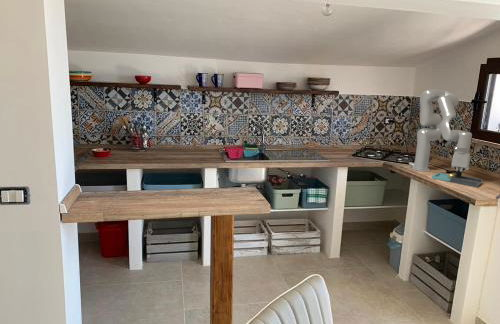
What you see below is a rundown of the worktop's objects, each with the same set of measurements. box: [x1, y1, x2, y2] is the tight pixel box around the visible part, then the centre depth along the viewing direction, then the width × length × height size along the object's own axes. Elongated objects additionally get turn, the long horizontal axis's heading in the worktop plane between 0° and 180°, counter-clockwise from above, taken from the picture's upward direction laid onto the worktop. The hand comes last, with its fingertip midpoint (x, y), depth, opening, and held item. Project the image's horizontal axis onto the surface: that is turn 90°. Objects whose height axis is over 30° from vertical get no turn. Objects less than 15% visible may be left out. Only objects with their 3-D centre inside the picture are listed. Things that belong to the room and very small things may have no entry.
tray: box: [431, 172, 451, 183], centre depth 263 cm, size 12×14×2 cm
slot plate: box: [449, 175, 483, 188], centre depth 254 cm, size 16×14×3 cm
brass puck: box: [447, 172, 456, 178], centre depth 259 cm, size 5×5×2 cm
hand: (458, 176), depth 257 cm, fingers closed
